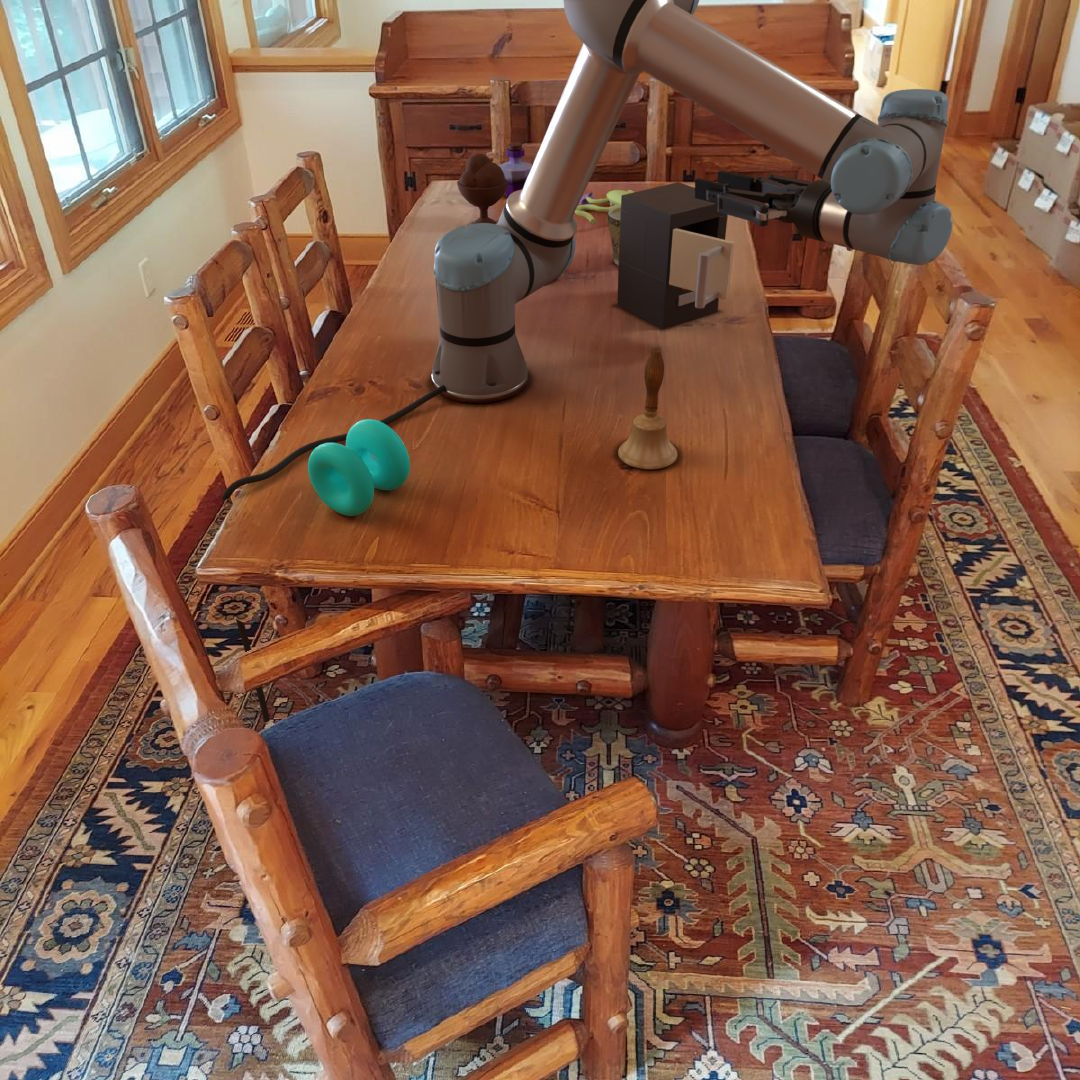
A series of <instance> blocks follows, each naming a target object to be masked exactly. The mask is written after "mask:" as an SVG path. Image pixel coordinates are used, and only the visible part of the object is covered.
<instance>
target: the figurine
mask: <svg viewBox="0 0 1080 1080" xmlns="http://www.w3.org/2000/svg"><path fill="white" fill-rule="evenodd" d="M634 192H635V191H634V190H631V189H628V190H622V189H613V190H612V189H611V190H609V191H608V192H607V193H606V197H605V198H598V199H596V198H595V196H594V195H593V192H592V191H590V192H588V193H584V194H583V195H582V197H581V199H580V202H579V204H578V206H577V208H576V210H575V212H574V214H575V215H576V216H578V217H580V218H585V219H587V220H588V221H589V223H590V225H595V224H596V219H595V217H594V216H593V215H592V213H590V212H588V211H594V212H598V213H605V214H608V212H609V211H610V210H611V209H613V208H615V207H619V206H621V196H622V195H625V194H629V193H634ZM606 204H609V205H610V206H600V205H606Z"/></svg>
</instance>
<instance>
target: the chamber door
mask: <svg viewBox="0 0 1080 1080" xmlns="http://www.w3.org/2000/svg"><path fill="white" fill-rule="evenodd" d="M734 249H735V241H731V240H727V239H725V240H723V239H719V238H715V237H710V236H706V235H702V234H698V233H694V232H689V231H685V230H681V229H677V228H675V229H673V238H672V252H671V265H670V279H669V285H673V286H677V287H680V288H684V289H687V290H691V291H695V292H696V298H695V307H696V308H704V307H705V305H706V304H707V303H709V302H711V301H712V300H714V299H716V298H719V300H720V299H721V300H724V301H726V300H728V299H729V295H730V294H729V293H730V285H731V275H732V267H733V266H732V265H733V257H734Z"/></svg>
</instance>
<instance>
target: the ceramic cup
mask: <svg viewBox="0 0 1080 1080" xmlns="http://www.w3.org/2000/svg"><path fill="white" fill-rule="evenodd" d="M620 218H621V206H619V207H615V208H613V209H611V210H610V211H609V212H608V213H607V221H608V230H609V234H610V235H609V236H610V241H611V243H610V244H611V250H612V256H613V262H614V264H615V265H616V266H618V267H619V243H620Z"/></svg>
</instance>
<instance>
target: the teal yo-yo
mask: <svg viewBox="0 0 1080 1080" xmlns="http://www.w3.org/2000/svg"><path fill="white" fill-rule="evenodd" d="M380 421H381V420H377V419H371V418H366V419H361V420H358V421H357V422H355V423H354V424H353V425H352V426H351V427H350V428H349V430H348V432H347V433H348V434H347V438H346V440H345V445H343V444H341V443H339V442H337V443H324V444H321V445H319V446H318V447H316V448H315V449H312V450H311V453H310V455H309V458H308V462H307V472H308V473H307V474H308V477H309V481H310V483H311V485H312V487H313V489H314V492H315V493H316V494H317V496H318V497H319V498H320V500H321V501H322V502H323V503H324V505H326V506H327V507H328V508H330V509H331V510H333V511H334V512H336V513H338V514H341V515H343V516H348V517H354V516H355V517H356V516H360V515H361V514H363V513H365V512H366V511H367V510H369V508H370V506H371V505H372V503H373V501H374V496H375V489H377V490H379V491H380V490H381V491H394V490H396V489H399V488H400V487H401V486H403V485H404V484H405V483H406V481H407V480H408V478H409V475H410V471H411V461H410V460H411V459H410V455H409V452H408V449H407V447H406V445H405V443H404V441H403V440H402V438H401V437H400V436H399V435H398V433H397V432H396V431H395V430H394V429H393V428H391V427H390V426H389V425H388V424H387V425H386V424H384V423H382V422H380Z"/></svg>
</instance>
